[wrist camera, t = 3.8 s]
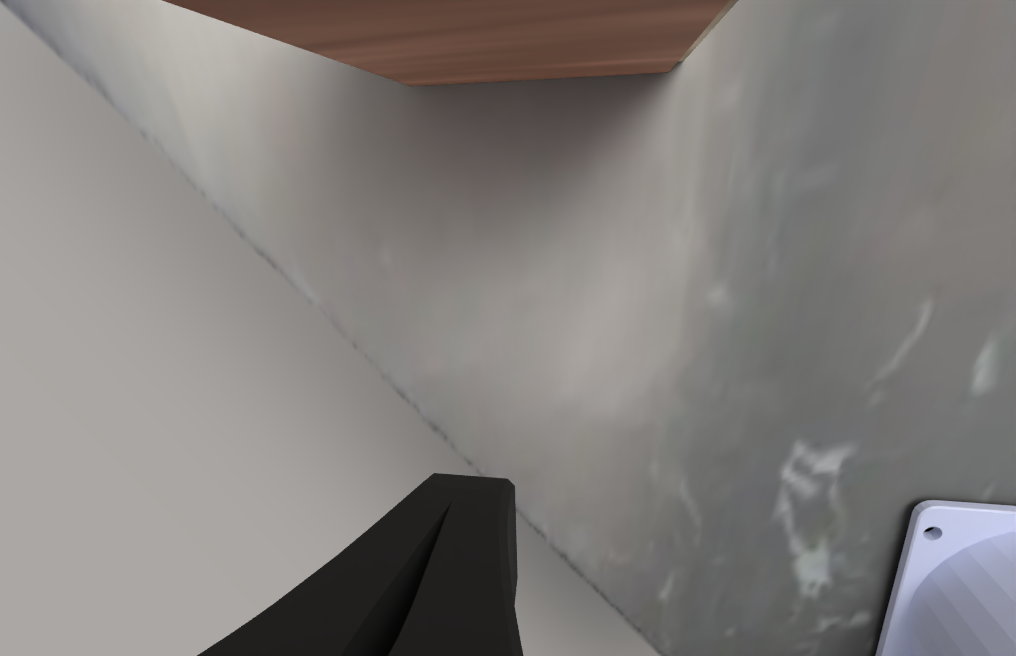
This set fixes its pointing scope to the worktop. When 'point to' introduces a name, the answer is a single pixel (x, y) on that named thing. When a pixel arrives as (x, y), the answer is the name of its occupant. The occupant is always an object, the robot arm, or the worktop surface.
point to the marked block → (481, 35)
